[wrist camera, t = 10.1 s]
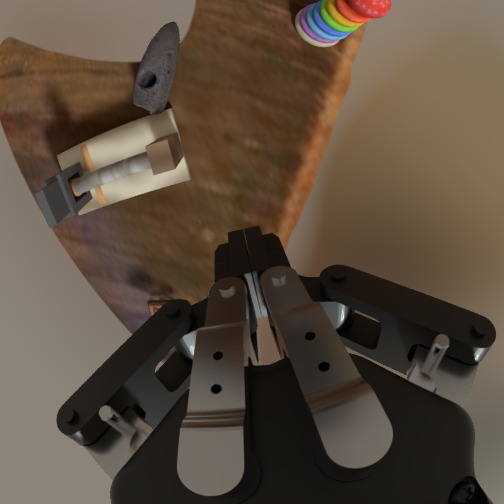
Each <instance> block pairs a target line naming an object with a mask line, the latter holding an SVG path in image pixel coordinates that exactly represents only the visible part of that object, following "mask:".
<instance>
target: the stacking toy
mask: <svg viewBox="0 0 504 504" xmlns="http://www.w3.org/2000/svg"><path fill="white" fill-rule="evenodd" d="M390 7H391V1H390V0H320V1H319V2H317V3H313V4H310V5H308V6H306V7H305V8H303V9H301V10H300V11H299V12H298V13H297V15H296V18H295V27H296V30H297V32H298V34H299V35H300V36H301V37H302V38H303V39H304V40H305V41H306V42H308V43H310V44H312V45H314V46H318V47H329V46H332V45H335V44H336V43H338V42H339V40H341V39H343V38H345V37H346V36H347V35H349V34H350V33H351V32H352V31H354V30H356V29H357V28H358V27H359V26H360V25H362V24H363V23H366V22H368V21H370V20H371V19H372V18H380V17H383V16H384V15H386V14H387V13H388V12H389V10H390Z"/></svg>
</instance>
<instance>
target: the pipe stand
mask: <svg viewBox="0 0 504 504" xmlns="http://www.w3.org/2000/svg"><path fill="white" fill-rule="evenodd" d="M57 158H58V161H59V164H60V167H61V170H64V169H66V168H68V167H70V166H72V165H74V164H76V163H78V162H80V164H81V167H82V170H83V173H84V175H83V176H81V177H79V178H74V179H72V180H70V181H68V183H69V186H70V188H71V191H72V193H73V196H74V197H77V196H79V195H81V194H82V193H84V192H86V191H89V190H90V192H91V194H92V197H93V199H92V200H91V201H90V202H88V203H87V204H86V205H85V206H84V207H83V208H82V209H81V210H80V211H79V212H78V214H79V215H82V214H84V213H87V212H90V211H92V210H95V209H98V208H101V207H103V206H106V205H109V204H112V203H115V202H118V201H121V200H124V199H127V198H130V197H133V196H136V195H139V194H143V193H146V192H149V191H152V190H156V189H159V188H162V187H166V186H169V185H173V184H176V183H180V182H184V181H187V180H190V179H191V176H190V173H189V169H188V165H187V162H186V158H185V154H184V151H183V147H182V143H181V139H180V136H179V132H178V128H177V124H176V120H175V116H174V112H173V108H170V109H167V110H164V111H163V112H162V113H161V114H158V115H149V116H146V117H143V118H140V119H138V120H135V121H132V122H129V123H127V124H124V125H122V126H119V127H117V128H114V129H112V130H109V131H107V132H105V133H102V134H100V135H98V136H96V137H93V138H91V139H89V140H87V141H85V142H83V143H81V144H78V145H76V146H74V147H72V148H70V149H68V150H66V151H65V152H63V153H61V154H59V155H57Z"/></svg>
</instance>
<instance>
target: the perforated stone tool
mask: <svg viewBox="0 0 504 504" xmlns="http://www.w3.org/2000/svg"><path fill="white" fill-rule="evenodd" d="M179 39H180V38H179V30H178V26H177V24H176V23H175V22H170V23H168V24H165V25H164V26H163V27H162V28H161V29H160V30H159V31H158V33H157V34H156V35H155V36H154V38H153V39H152V40H151V42H150V44H149V45H148V48H147V51H146V52H145V54H144V56H143V58H142V61H141V63H140V66H139V69H138V73H137V76H136V80H135V83H134V87H133V93H132V97H133V104H134V105H136V106H139V107H142V108H144V109H146V110H148V111H149V112H150V115H158V114H161V113H162V112H163V111H164V109H165V106H166V103H167V100H168V97H169V93H170V90H171V86H172V82H173V78H174V74H175V69H176V64H177V58H178V50H179V41H180V40H179Z"/></svg>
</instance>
